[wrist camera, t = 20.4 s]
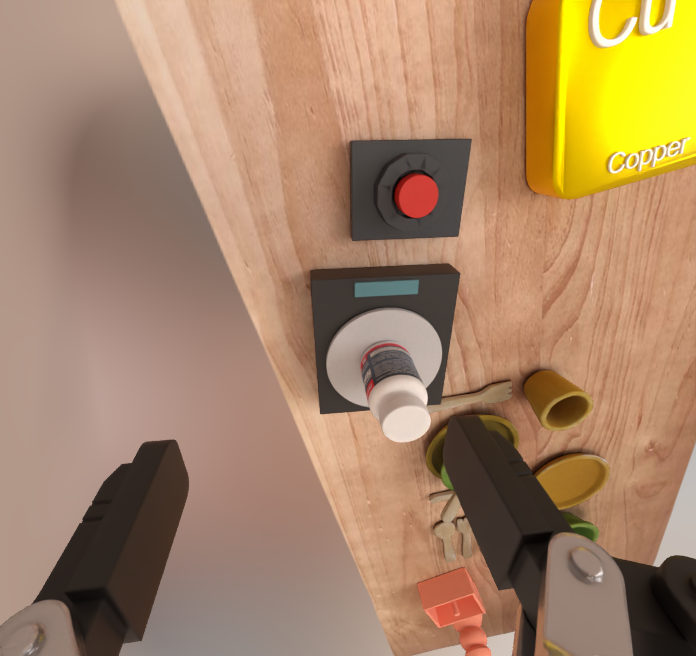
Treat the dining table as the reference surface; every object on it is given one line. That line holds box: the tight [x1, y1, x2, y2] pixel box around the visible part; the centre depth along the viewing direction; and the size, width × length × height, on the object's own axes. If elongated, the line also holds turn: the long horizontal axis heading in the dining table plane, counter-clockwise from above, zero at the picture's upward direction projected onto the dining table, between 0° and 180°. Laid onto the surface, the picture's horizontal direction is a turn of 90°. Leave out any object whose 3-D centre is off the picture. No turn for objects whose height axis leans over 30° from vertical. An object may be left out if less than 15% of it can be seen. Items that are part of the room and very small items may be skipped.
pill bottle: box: [360, 341, 431, 443], centre depth 31 cm, size 5×5×9 cm
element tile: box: [526, 0, 696, 200], centre depth 26 cm, size 15×15×5 cm
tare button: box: [394, 173, 438, 218], centre depth 28 cm, size 3×3×2 cm
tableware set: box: [426, 370, 610, 562], centre depth 49 cm, size 41×28×6 cm
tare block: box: [350, 139, 472, 241], centre depth 29 cm, size 10×8×3 cm
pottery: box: [417, 567, 491, 656], centre depth 64 cm, size 18×10×10 cm, turn 25°
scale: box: [310, 264, 460, 414], centre depth 36 cm, size 14×16×4 cm
